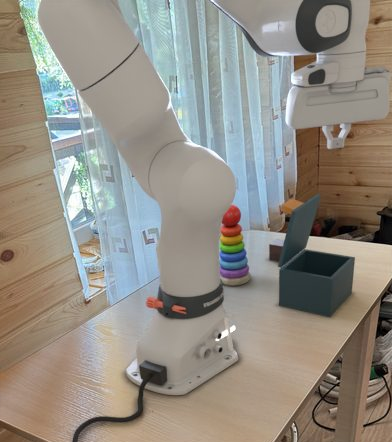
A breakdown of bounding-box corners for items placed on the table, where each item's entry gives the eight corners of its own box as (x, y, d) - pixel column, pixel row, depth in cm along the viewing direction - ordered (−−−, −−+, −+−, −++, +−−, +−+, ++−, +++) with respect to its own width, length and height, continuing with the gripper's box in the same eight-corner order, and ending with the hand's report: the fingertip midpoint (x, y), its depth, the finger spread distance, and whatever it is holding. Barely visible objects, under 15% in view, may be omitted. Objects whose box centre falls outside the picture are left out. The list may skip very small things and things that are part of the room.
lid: (321, 194, 110) (301, 187, 112) (295, 212, 101) (274, 203, 103) (306, 247, 118) (287, 240, 120) (280, 267, 110) (261, 259, 111)
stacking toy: (250, 272, 131) (248, 199, 121) (250, 286, 124) (248, 209, 114) (219, 273, 132) (215, 201, 122) (217, 287, 125) (213, 211, 115)
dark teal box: (351, 293, 117) (355, 257, 112) (329, 317, 109) (332, 279, 104) (303, 283, 123) (304, 248, 119) (278, 305, 115) (279, 269, 110)
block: (284, 262, 135) (284, 246, 132) (269, 259, 137) (269, 244, 135) (291, 256, 138) (291, 241, 135) (276, 254, 140) (276, 238, 138)
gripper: (383, 64, 100) (376, 139, 108) (283, 74, 98) (282, 150, 105) (400, 65, 95) (391, 144, 102) (294, 77, 93) (292, 157, 100)
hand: (335, 147), depth 104 cm, fingers closed
